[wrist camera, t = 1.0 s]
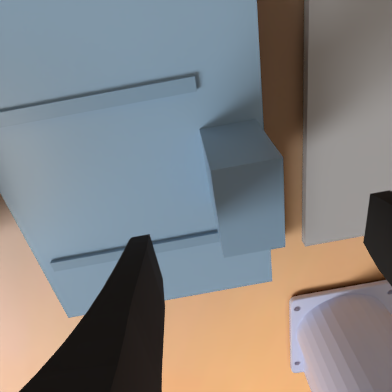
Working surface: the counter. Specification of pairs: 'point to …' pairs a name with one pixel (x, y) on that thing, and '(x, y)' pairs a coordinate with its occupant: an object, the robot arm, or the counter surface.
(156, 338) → the robot arm
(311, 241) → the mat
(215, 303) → the counter surface
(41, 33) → the lid
